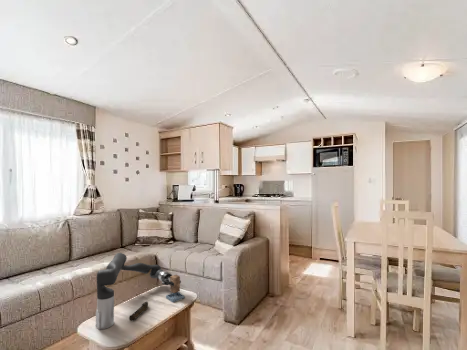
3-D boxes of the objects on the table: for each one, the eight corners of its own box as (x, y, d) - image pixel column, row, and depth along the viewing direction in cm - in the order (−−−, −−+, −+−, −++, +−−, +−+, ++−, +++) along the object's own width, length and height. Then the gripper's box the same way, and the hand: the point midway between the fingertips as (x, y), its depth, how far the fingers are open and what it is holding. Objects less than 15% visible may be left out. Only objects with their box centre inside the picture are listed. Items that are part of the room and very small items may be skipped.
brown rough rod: (134, 322, 159) (134, 314, 159) (128, 321, 160) (128, 313, 160) (151, 307, 177) (151, 300, 177) (146, 306, 178) (146, 300, 178)
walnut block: (173, 293, 187) (174, 278, 187) (170, 291, 191) (170, 276, 191) (179, 291, 191) (179, 276, 191) (176, 289, 194) (176, 274, 194)
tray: (172, 302, 184) (172, 299, 184) (166, 298, 190) (166, 295, 191) (184, 298, 190) (184, 295, 190) (177, 294, 197) (177, 291, 197)
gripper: (156, 274, 196) (168, 281, 184) (173, 269, 206) (185, 275, 194) (156, 284, 196) (168, 291, 184) (173, 279, 206) (185, 285, 194)
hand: (177, 283), depth 189 cm, fingers closed on walnut block, 5 cm apart
